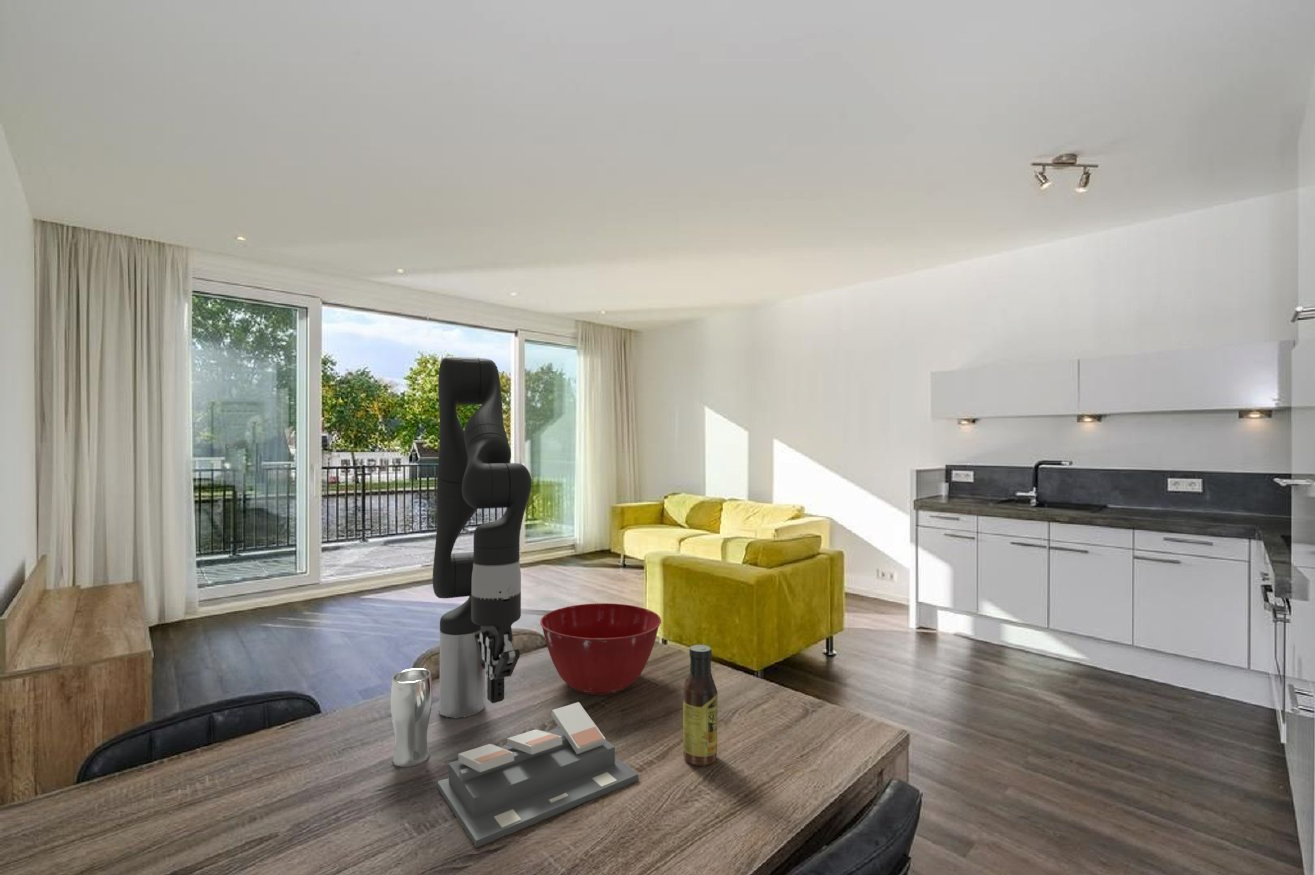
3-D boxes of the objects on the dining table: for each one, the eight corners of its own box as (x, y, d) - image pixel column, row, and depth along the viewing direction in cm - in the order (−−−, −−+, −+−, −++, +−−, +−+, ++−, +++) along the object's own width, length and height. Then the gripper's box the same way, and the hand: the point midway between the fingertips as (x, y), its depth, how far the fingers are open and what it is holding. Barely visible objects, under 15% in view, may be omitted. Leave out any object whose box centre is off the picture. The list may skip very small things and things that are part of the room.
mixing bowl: (611, 652, 161) (611, 595, 161) (685, 685, 140) (686, 619, 140) (517, 681, 142) (517, 616, 142) (587, 723, 121) (588, 647, 121)
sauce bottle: (715, 770, 104) (715, 656, 104) (680, 766, 105) (680, 653, 105) (719, 750, 110) (719, 643, 110) (685, 747, 112) (686, 641, 112)
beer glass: (440, 753, 109) (440, 671, 109) (409, 772, 103) (410, 686, 103) (412, 745, 112) (412, 665, 112) (381, 763, 105) (381, 678, 106)
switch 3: (551, 715, 108) (552, 709, 108) (577, 707, 112) (578, 701, 111) (577, 754, 101) (578, 748, 101) (604, 744, 104) (605, 738, 104)
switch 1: (458, 761, 98) (458, 753, 98) (490, 751, 101) (490, 743, 102) (480, 772, 90) (479, 763, 91) (514, 760, 94) (513, 751, 94)
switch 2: (507, 746, 103) (506, 737, 103) (536, 736, 106) (536, 728, 107) (531, 754, 95) (530, 746, 96) (562, 744, 99) (561, 736, 99)
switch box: (437, 787, 98) (437, 756, 98) (584, 737, 115) (584, 710, 115) (476, 848, 84) (476, 811, 84) (638, 780, 101) (638, 749, 101)
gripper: (458, 585, 96) (457, 692, 96) (489, 603, 86) (488, 723, 86) (502, 579, 101) (501, 681, 101) (537, 595, 90) (536, 709, 90)
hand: (495, 700), depth 93 cm, fingers closed
